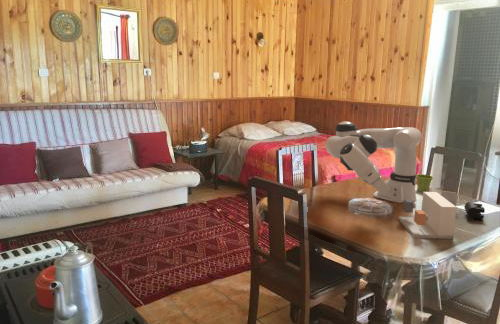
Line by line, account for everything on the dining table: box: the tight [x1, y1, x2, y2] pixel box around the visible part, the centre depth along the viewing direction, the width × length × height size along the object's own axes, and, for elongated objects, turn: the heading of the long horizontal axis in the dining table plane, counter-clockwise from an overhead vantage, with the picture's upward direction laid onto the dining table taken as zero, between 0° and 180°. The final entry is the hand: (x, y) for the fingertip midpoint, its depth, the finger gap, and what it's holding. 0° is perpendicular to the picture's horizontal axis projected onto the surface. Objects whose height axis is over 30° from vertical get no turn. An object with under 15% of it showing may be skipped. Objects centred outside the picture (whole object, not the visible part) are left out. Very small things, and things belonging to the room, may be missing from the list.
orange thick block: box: [413, 209, 428, 225], centre depth 175 cm, size 4×5×5 cm
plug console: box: [398, 191, 458, 240], centre depth 183 cm, size 16×22×14 cm
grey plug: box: [402, 199, 417, 214], centre depth 191 cm, size 4×5×5 cm
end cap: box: [464, 200, 486, 222], centre depth 199 cm, size 10×7×7 cm
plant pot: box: [416, 173, 434, 193], centre depth 244 cm, size 9×9×9 cm
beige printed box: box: [440, 190, 458, 207], centre depth 208 cm, size 4×7×10 cm, turn 56°
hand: (388, 194), depth 189 cm, fingers closed
